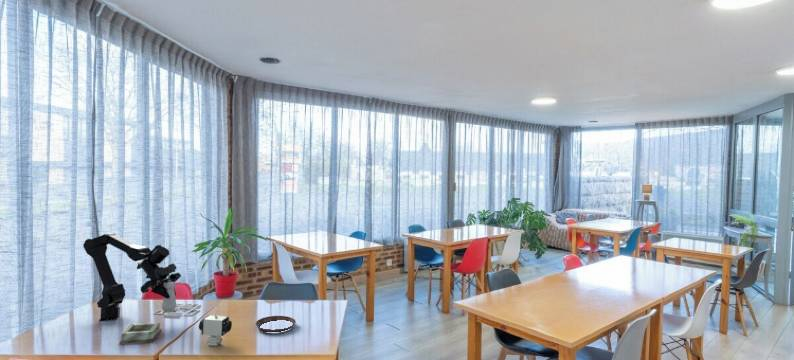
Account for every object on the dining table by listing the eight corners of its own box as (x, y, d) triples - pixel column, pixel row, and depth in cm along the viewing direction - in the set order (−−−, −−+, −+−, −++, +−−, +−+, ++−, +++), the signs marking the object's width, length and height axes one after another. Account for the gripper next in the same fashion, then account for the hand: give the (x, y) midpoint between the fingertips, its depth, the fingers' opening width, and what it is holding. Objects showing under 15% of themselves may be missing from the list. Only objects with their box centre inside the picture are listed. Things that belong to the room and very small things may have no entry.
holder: (119, 344, 161) (119, 334, 161) (129, 333, 173) (129, 323, 173) (153, 341, 165) (153, 332, 165) (160, 331, 176) (161, 322, 177)
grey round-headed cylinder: (165, 308, 186) (167, 280, 186) (178, 309, 186) (180, 281, 186) (158, 313, 180) (160, 283, 180) (172, 313, 180) (173, 284, 180)
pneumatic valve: (225, 347, 163) (227, 318, 163) (197, 345, 163) (198, 316, 163) (232, 342, 168) (233, 313, 168) (204, 340, 169) (206, 311, 169)
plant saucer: (302, 329, 187) (303, 322, 187) (267, 339, 174) (268, 332, 174) (282, 319, 199) (282, 313, 199) (248, 327, 186) (248, 321, 186)
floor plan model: (199, 320, 193) (199, 316, 193) (148, 317, 194) (148, 313, 194) (218, 308, 211) (218, 304, 211) (172, 305, 213) (172, 301, 213)
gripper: (147, 262, 174) (168, 291, 172) (179, 255, 193) (198, 280, 191) (131, 279, 176) (151, 307, 174) (163, 270, 194) (182, 295, 192)
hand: (172, 296), depth 183 cm, fingers closed on grey round-headed cylinder, 3 cm apart
